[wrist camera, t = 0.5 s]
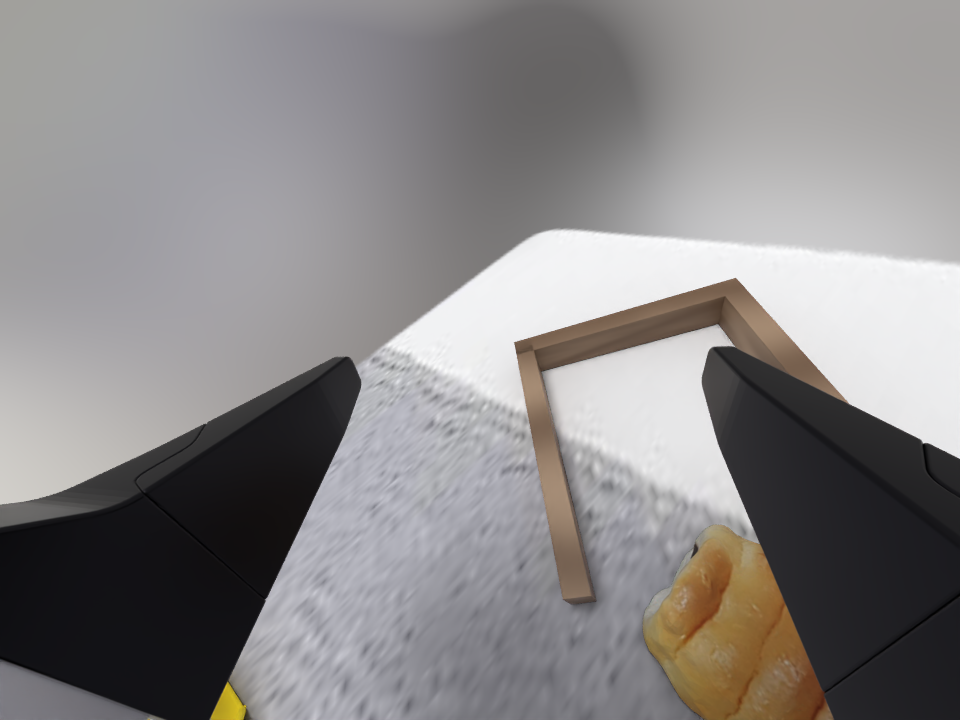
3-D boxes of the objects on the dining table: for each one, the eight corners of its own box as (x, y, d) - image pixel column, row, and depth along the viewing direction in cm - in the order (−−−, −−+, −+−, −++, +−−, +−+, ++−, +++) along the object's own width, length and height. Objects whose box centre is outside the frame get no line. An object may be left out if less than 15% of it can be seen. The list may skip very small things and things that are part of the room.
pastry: (1004, 715, 12) (1121, 739, 9) (935, 946, 10) (1053, 1068, 7) (701, 519, 17) (713, 495, 15) (625, 642, 16) (622, 642, 13)
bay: (932, 558, 14) (976, 545, 12) (571, 604, 17) (563, 599, 15) (728, 306, 24) (735, 277, 22) (522, 363, 27) (514, 342, 25)
